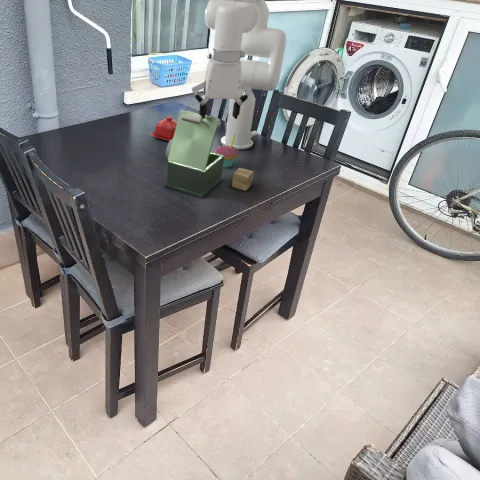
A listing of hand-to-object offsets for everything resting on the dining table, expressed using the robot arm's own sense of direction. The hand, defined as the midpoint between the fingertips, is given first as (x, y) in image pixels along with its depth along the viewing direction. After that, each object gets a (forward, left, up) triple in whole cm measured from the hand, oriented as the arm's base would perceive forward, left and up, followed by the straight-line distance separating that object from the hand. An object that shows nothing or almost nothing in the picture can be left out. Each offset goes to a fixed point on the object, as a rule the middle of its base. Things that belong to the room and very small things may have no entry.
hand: (218, 117), depth 131 cm
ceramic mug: (-6, -23, -24) cm, 34 cm away
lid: (+5, -4, -7) cm, 10 cm away
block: (-10, +4, -24) cm, 26 cm away
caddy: (+2, -6, -24) cm, 25 cm away
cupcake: (-17, -11, -24) cm, 31 cm away
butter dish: (-16, -43, -24) cm, 52 cm away
